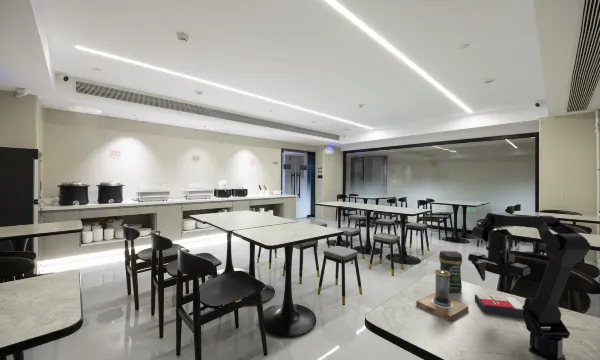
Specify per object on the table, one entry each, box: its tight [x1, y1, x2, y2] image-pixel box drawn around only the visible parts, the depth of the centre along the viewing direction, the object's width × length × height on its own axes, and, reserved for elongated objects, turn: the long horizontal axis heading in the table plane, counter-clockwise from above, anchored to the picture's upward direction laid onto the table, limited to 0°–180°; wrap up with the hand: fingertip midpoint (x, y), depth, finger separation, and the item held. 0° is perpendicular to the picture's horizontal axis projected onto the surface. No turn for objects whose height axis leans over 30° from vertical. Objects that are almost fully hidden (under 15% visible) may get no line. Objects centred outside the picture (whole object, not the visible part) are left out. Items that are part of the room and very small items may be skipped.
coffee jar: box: [438, 250, 463, 293], centre depth 124 cm, size 10×8×19 cm
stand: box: [415, 292, 469, 322], centre depth 106 cm, size 14×14×2 cm
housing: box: [433, 269, 451, 307], centre depth 106 cm, size 6×6×13 cm
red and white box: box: [474, 293, 524, 320], centre depth 106 cm, size 11×4×15 cm
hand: (496, 285), depth 98 cm, fingers open, 9 cm apart
